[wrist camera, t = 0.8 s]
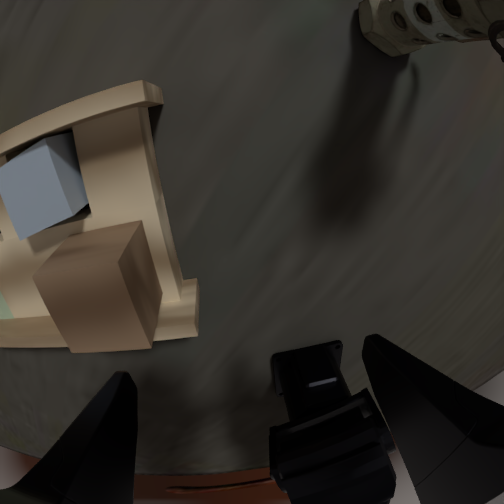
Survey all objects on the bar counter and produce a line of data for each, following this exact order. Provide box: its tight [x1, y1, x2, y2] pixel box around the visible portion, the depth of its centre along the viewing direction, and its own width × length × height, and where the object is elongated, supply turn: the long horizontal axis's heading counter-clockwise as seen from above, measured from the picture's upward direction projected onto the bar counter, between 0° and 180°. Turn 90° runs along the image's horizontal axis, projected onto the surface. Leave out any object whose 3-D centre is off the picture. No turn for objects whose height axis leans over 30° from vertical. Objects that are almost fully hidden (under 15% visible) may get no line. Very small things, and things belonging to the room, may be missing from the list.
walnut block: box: [32, 220, 163, 353], centre depth 15 cm, size 5×5×5 cm
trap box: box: [0, 80, 200, 348], centre depth 15 cm, size 14×22×5 cm, turn 96°
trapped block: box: [0, 132, 89, 241], centre depth 14 cm, size 4×4×4 cm
